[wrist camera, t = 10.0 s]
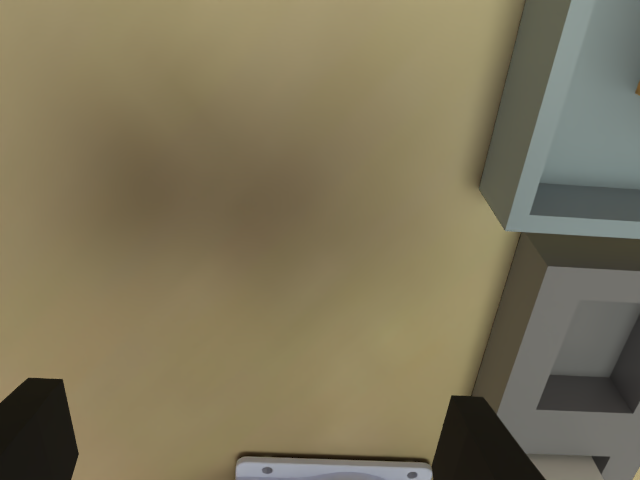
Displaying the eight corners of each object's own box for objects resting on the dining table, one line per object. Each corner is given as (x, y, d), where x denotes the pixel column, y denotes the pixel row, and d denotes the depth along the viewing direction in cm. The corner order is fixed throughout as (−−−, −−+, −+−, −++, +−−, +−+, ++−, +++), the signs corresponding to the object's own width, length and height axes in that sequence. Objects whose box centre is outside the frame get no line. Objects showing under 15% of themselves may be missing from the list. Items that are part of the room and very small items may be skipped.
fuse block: (440, 497, 29) (451, 544, 26) (522, 229, 20) (548, 266, 18) (571, 501, 29) (592, 548, 27) (702, 240, 21) (748, 277, 19)
